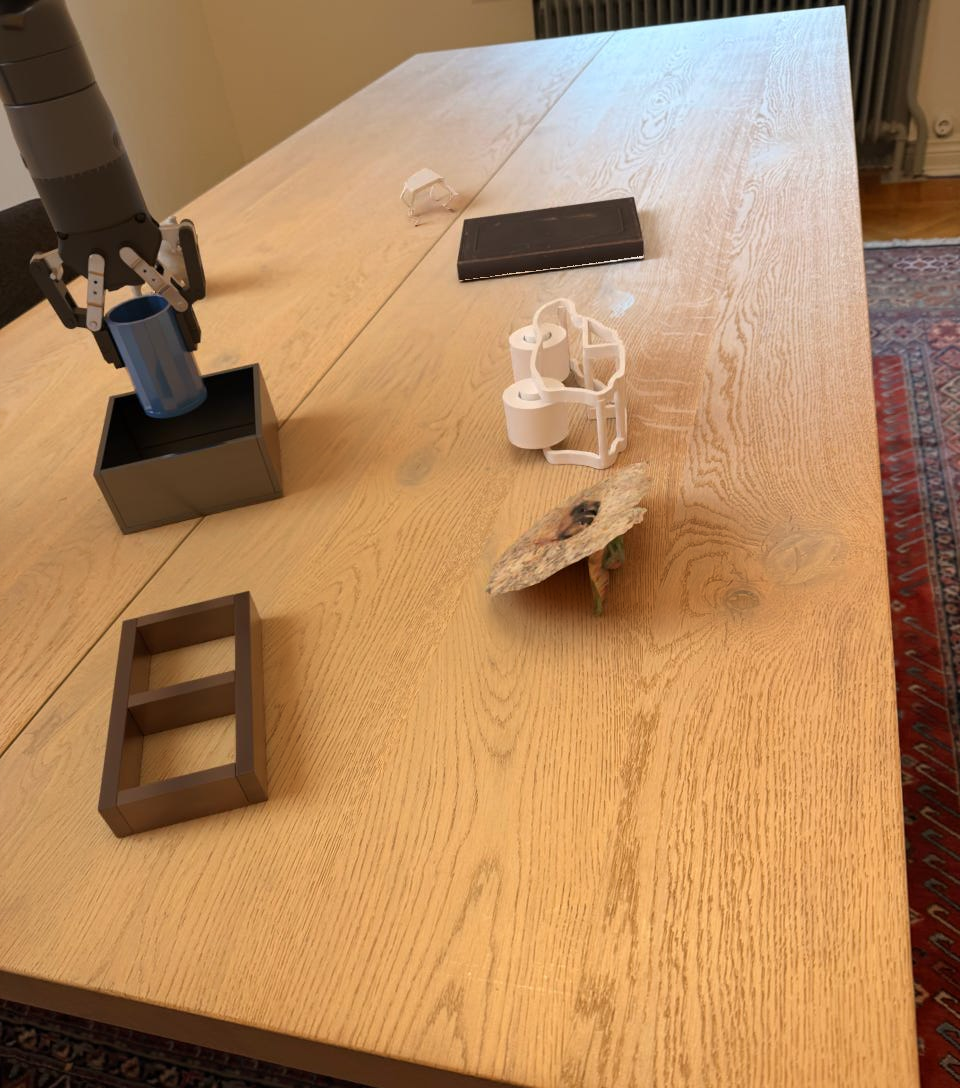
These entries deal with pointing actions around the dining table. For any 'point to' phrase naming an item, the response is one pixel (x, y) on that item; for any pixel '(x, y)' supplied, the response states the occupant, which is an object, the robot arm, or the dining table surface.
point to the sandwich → (577, 535)
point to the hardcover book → (550, 238)
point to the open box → (191, 454)
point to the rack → (184, 717)
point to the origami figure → (422, 182)
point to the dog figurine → (169, 260)
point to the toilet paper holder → (542, 396)
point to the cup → (156, 356)
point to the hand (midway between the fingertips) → (157, 355)
